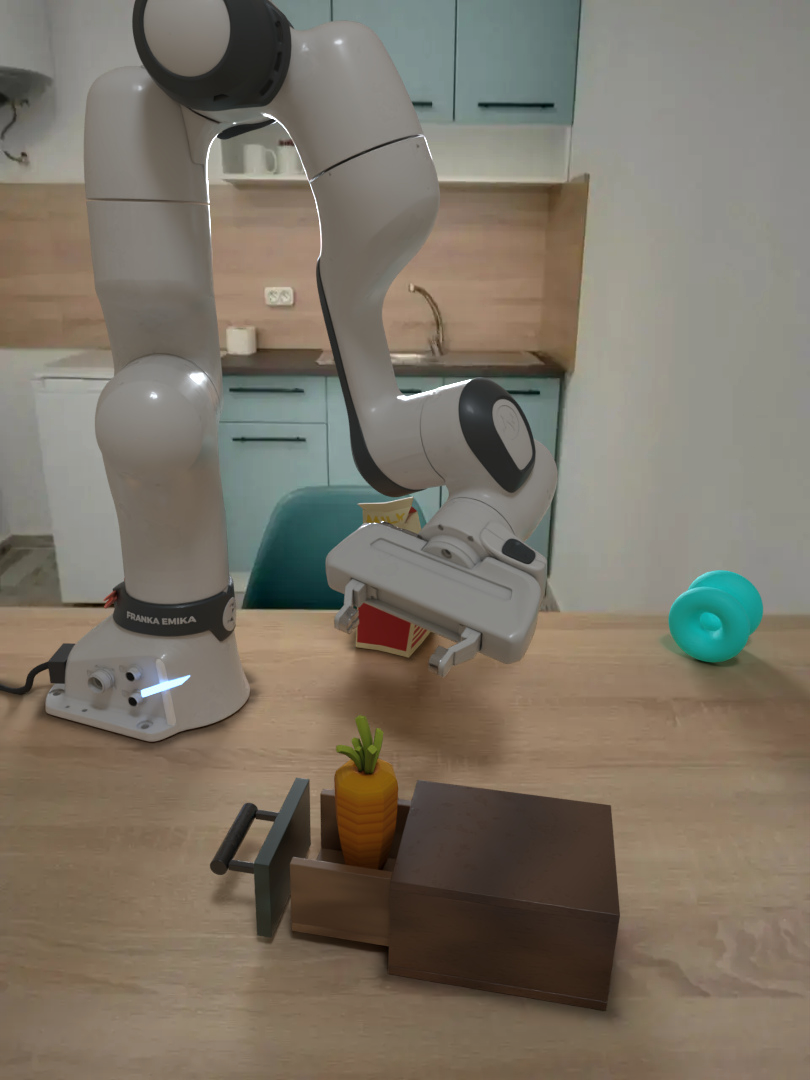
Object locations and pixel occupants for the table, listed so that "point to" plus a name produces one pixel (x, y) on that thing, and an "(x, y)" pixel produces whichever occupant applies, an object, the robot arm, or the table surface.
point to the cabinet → (506, 894)
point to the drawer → (312, 871)
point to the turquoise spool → (715, 616)
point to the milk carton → (374, 623)
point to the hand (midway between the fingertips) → (387, 647)
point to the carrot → (365, 800)
